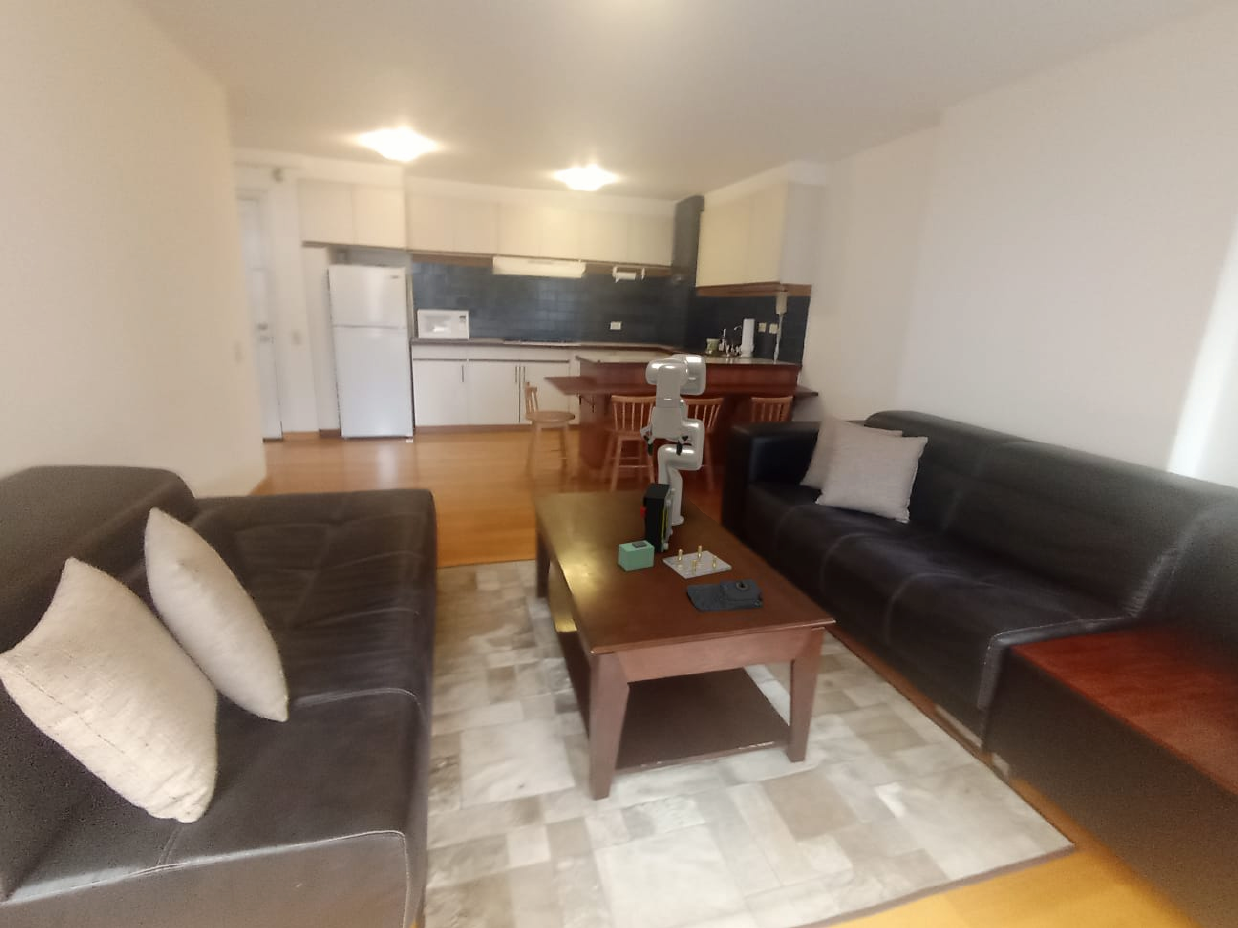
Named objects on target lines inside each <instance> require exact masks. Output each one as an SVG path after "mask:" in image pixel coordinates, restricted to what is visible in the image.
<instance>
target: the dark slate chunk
mask: <svg viewBox="0 0 1238 928" xmlns="http://www.w3.org/2000/svg"><path fill="white" fill-rule="evenodd" d="M686 591H687V594H688V596H689V598H690V600H691V603H692V604H693V605H694V607H695V608H696V609H697V610H698V611H700V612H701V613H703V612H705V613H706V612H724V611H743V610H759V609H763V605H764V606H765V604H764V603H763V602H762V600H760V598H761V596H762V595H763V591H762V589H761V588H760V587H759V586H758V585H757V582H756V581H755V579H753V578H750V579H740V581H735V580H733V579H732V580H729V581H728V580H720V582H719V584H717V583H707V584H689V585H687V587H686Z"/></svg>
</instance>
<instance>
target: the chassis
mask: <svg viewBox="0 0 1238 928" xmlns="http://www.w3.org/2000/svg"><path fill="white" fill-rule="evenodd" d="M662 561H663V563H664V564H666V565H667V566H668V567H670V568H671V569H673V571H675V572H676V573H677V574H678V575H680V576H681V577H682V578H684V579H690V578H696V577H700V576H705V575H710V574H715V573H721V572H725V571H729V570H732V566H731V565H729V564H728V563H726V562H725V561H724V560H722V559H720V558H719V557H718V556H717V555H715V554H713V553H711V552H710V551H708V550H703V546H702V545H698V551H697V552H692V553H686V554H683V549H681V548H680V549H679V548H678V555H676V556H675V555H674V556H671V557H670V556H669V557H666V558H663V559H662Z"/></svg>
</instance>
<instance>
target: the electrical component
mask: <svg viewBox="0 0 1238 928" xmlns="http://www.w3.org/2000/svg"><path fill="white" fill-rule="evenodd" d="M671 488H672V486H670V485H668V484H658V483H655V482H650V484H649V485H648V487H647V489H646V490H645V493H644V494H643V496H642V507H640V517H641V518H643V521H644V539H643V541H645V540H646V541H647V542H648V543H650V544H651V545H652V546H654V553H655V554H656V553H657V554H661V553H663V552H664V550H668V549H669V543H668V541H669V538H670V536H672V535H673V529H672V526H671V524H672V509H673V496H672V495H674V494H675V489H671ZM671 494H672V495H671Z"/></svg>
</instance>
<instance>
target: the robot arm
mask: <svg viewBox="0 0 1238 928" xmlns="http://www.w3.org/2000/svg"><path fill="white" fill-rule="evenodd" d="M648 362H649V363H648V364H647V366H646V369H645V380H646V382H647V384H649V385H655V386H656V395H655V397H656V399H655V406H653V408H652V410H651V416H650V423H649V425H646V426H644V427H642V428H640V429H639V432H640V435H641V437H642V438H643V439H644V441H645V442H646V453H647V454H648V455H649V456H650V457H652V456H653V452H654V444H653V442H654V441H655V440H656V439H665V440H667V441H669V442H675V443H676V444H671V443H670V444H669V443H667V444H662V445H661V446H660V447H659V448H658V450H657V463H658V481H657V482H658V484H668V485H670V486H672V488H671V489H675V494H674V495H672V494H671V495H672V496H673V509H672V524H671V527H675V526H679V525H682V524H684V517H683V516H682V515H681V510H682V508H681V506H682V492H683V477H682V476H681V473H680V472H679V470H683V471H684V470H685V471H697V470H700V469H701V467H702V464H703V459H704V458H703V457H704V456H703V455H704V445H705V425H704V422H703V421H702V420H700V419H696V418H688V417H687V415H688V405H687V403H686V401H685V400H684V399H683V397H681V395H692V396H700V395H702V394H703V393H704V392H705V389H706V381H707V379H706V377H707V370H706V369H707V367H706V366H707V365H706V362H705V358H704V357H703V356H701V355H698V354H683V353H682V354H681V353H679V354H678V353H677V354H673V355H671V356H669V357H667V358H659V359H653V360H650V361H648ZM648 431H649V436H647V434H646V432H648ZM685 443H686V444H687V443H688V444H691V445H686V444H685ZM684 444H685V445H684Z"/></svg>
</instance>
